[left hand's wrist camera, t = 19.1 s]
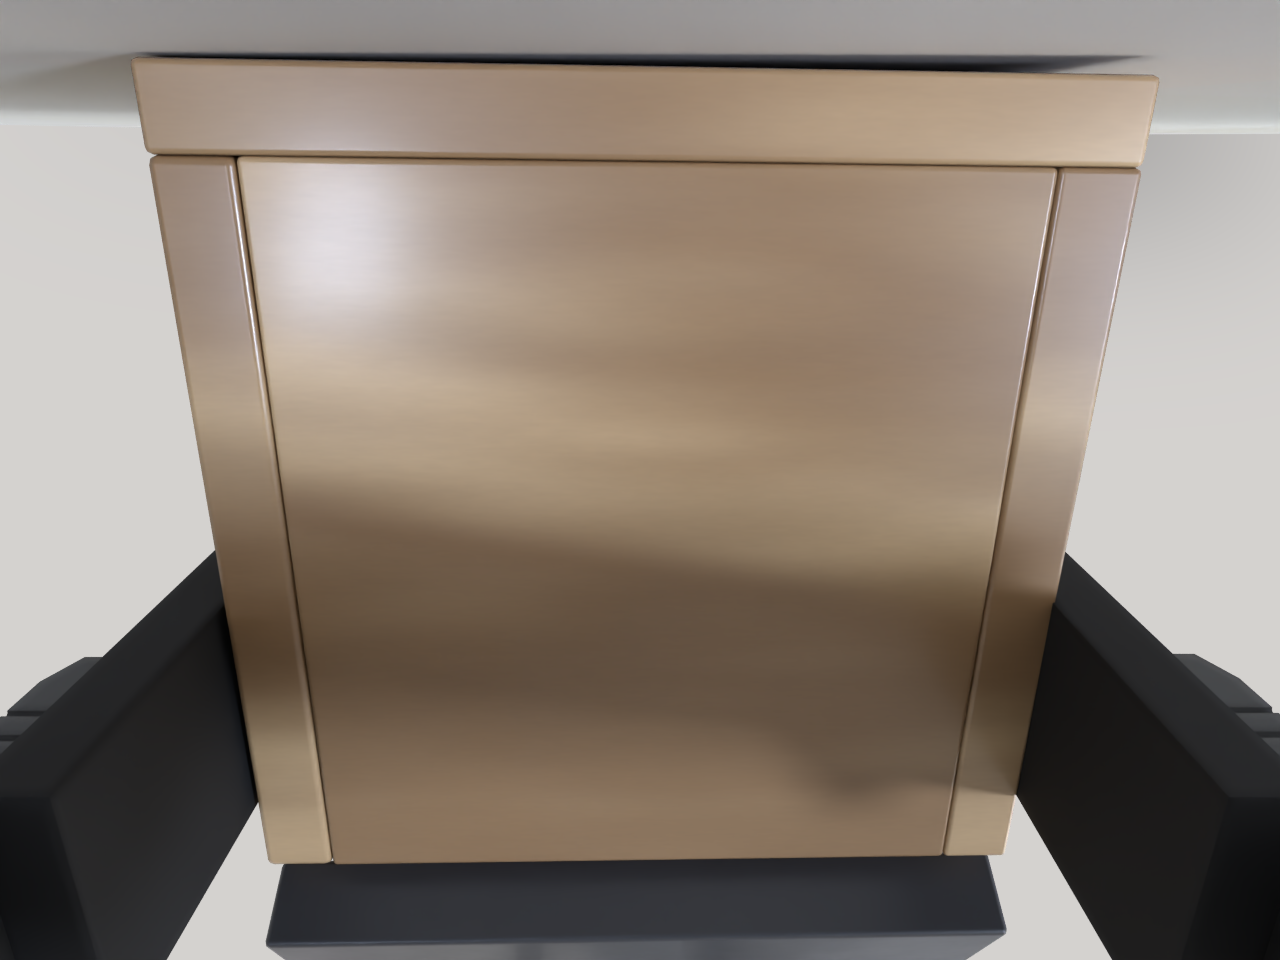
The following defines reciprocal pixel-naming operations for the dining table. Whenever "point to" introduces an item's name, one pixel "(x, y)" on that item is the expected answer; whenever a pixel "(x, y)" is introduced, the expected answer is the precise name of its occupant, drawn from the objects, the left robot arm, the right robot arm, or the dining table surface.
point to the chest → (638, 440)
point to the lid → (640, 910)
